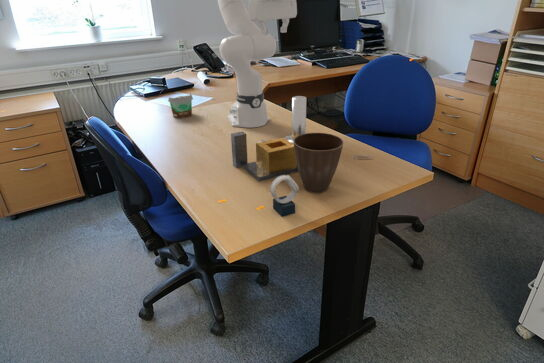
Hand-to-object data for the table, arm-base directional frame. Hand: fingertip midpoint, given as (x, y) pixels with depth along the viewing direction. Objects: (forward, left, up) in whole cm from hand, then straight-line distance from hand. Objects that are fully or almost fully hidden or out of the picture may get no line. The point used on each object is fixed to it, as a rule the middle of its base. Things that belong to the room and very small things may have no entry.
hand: (274, 33), depth 135 cm
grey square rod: (+7, -19, -43) cm, 47 cm away
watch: (+42, -21, -43) cm, 64 cm away
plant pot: (+35, -5, -43) cm, 56 cm away
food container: (-59, -19, -43) cm, 75 cm away
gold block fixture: (+14, -6, -43) cm, 45 cm away
